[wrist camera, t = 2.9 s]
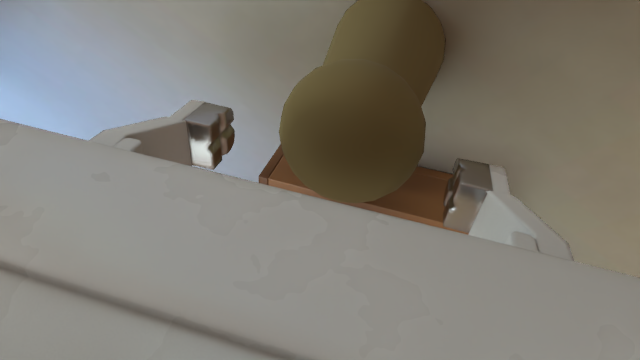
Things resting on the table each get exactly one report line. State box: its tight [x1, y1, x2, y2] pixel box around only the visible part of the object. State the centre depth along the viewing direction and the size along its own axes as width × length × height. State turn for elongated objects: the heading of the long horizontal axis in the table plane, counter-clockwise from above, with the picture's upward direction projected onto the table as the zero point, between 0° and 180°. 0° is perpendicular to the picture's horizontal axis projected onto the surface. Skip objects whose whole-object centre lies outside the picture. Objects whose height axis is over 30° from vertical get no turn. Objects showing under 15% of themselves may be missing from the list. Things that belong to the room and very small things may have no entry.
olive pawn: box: [279, 0, 445, 203], centre depth 17 cm, size 6×6×11 cm
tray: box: [259, 145, 469, 235], centre depth 30 cm, size 13×20×5 cm, turn 174°
